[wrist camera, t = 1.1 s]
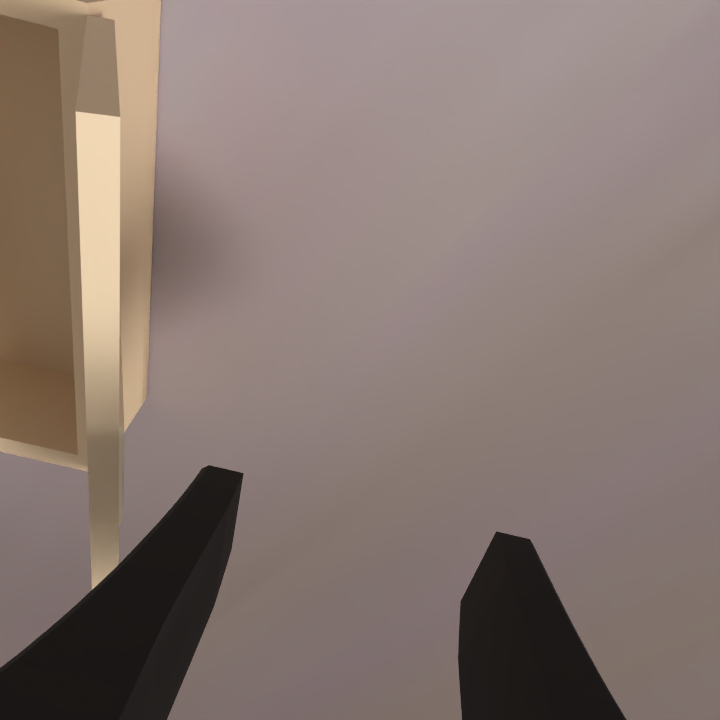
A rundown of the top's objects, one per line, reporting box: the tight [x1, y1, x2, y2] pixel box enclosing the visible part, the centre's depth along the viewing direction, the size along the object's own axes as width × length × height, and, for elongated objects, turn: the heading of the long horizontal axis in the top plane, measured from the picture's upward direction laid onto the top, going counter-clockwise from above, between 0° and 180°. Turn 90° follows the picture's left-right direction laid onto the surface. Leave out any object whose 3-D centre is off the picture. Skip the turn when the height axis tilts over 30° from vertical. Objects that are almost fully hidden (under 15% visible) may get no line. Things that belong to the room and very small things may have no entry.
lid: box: [76, 15, 124, 590], centre depth 13 cm, size 13×6×1 cm
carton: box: [0, 0, 161, 471], centre depth 17 cm, size 13×7×4 cm, turn 168°
